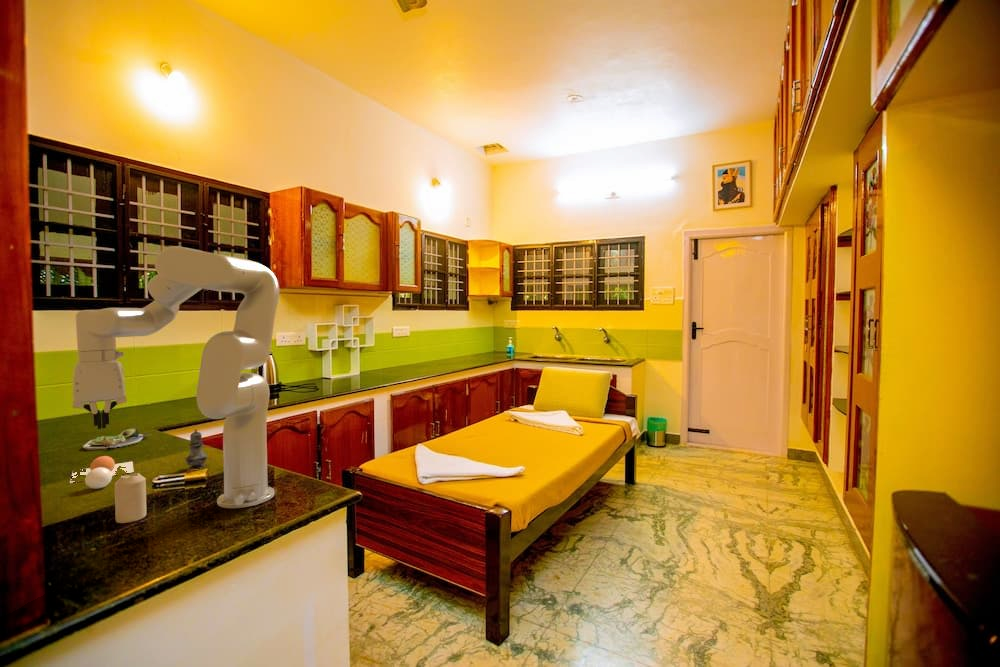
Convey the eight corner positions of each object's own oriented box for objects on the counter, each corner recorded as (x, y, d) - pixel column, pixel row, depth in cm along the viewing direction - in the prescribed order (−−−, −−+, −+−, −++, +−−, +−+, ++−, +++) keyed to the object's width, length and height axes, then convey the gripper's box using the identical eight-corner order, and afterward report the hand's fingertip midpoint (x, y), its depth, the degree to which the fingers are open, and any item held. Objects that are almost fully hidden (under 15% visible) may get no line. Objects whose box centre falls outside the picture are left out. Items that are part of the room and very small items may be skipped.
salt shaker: (196, 471, 137) (195, 431, 137) (180, 470, 139) (179, 431, 138) (212, 465, 143) (211, 427, 143) (196, 464, 144) (195, 426, 144)
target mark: (133, 472, 137) (133, 472, 137) (69, 483, 128) (69, 482, 128) (132, 461, 148) (132, 461, 148) (73, 471, 139) (73, 470, 139)
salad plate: (138, 449, 165) (138, 436, 165) (73, 455, 157) (73, 442, 157) (151, 437, 182) (151, 425, 182) (93, 442, 174) (93, 430, 174)
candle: (142, 511, 109) (141, 469, 109) (149, 517, 105) (148, 474, 105) (112, 519, 105) (111, 475, 104) (119, 525, 101) (117, 480, 101)
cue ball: (106, 460, 127) (108, 477, 129) (80, 469, 123) (83, 486, 124) (114, 469, 124) (116, 486, 126) (88, 478, 120) (91, 496, 122)
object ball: (111, 451, 139) (112, 469, 139) (87, 456, 134) (88, 474, 135) (116, 456, 135) (117, 474, 136) (92, 461, 131) (93, 480, 132)
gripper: (134, 355, 127) (138, 421, 127) (59, 359, 117) (63, 431, 118) (135, 355, 121) (139, 425, 122) (56, 360, 112) (61, 435, 112)
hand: (102, 427), depth 120 cm, fingers closed
